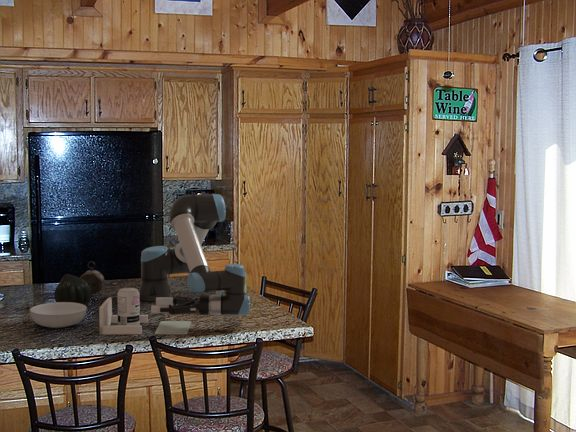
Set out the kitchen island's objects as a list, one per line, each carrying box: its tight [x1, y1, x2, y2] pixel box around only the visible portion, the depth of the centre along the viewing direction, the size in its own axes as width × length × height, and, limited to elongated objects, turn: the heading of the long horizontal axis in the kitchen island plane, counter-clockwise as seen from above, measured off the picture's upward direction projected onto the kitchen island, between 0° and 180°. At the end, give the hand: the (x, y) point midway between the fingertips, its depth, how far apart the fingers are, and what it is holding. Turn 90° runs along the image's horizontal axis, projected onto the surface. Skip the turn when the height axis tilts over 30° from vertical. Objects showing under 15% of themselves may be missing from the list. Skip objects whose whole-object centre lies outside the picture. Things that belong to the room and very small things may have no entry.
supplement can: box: [117, 287, 141, 326], centre depth 270 cm, size 8×8×15 cm
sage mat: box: [154, 320, 192, 335], centre depth 272 cm, size 12×18×1 cm, turn 3°
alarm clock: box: [79, 261, 106, 297], centre depth 324 cm, size 11×5×16 cm, turn 84°
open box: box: [98, 297, 149, 335], centre depth 270 cm, size 15×17×10 cm
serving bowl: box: [29, 301, 88, 329], centre depth 274 cm, size 21×21×7 cm
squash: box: [53, 273, 92, 306], centre depth 304 cm, size 14×15×15 cm
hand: (153, 305), depth 270 cm, fingers open, 13 cm apart
